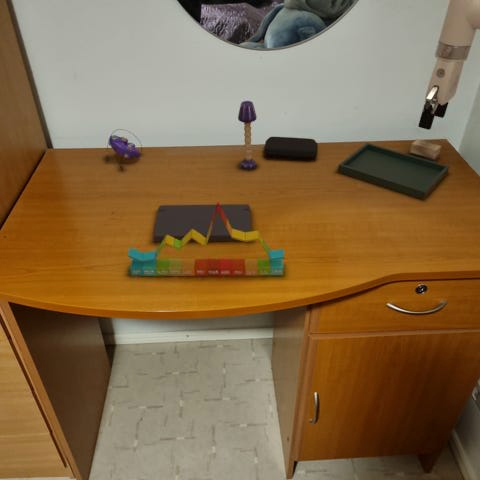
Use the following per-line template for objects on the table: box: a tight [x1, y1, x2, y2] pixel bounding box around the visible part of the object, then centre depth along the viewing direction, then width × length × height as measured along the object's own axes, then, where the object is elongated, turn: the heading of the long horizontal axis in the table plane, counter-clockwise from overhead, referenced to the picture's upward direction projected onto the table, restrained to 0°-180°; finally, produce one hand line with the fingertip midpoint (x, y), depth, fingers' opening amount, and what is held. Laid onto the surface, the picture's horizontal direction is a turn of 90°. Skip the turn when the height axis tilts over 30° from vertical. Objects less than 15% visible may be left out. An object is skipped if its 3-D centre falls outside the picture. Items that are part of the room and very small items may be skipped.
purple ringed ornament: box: [105, 128, 143, 171], centre depth 131 cm, size 10×8×10 cm
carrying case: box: [263, 136, 319, 161], centre depth 135 cm, size 11×3×15 cm
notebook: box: [153, 203, 253, 243], centre depth 109 cm, size 13×2×21 cm
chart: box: [127, 201, 285, 277], centre depth 92 cm, size 30×3×15 cm, turn 90°
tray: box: [337, 142, 450, 201], centre depth 126 cm, size 24×17×2 cm
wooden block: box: [408, 138, 442, 162], centre depth 133 cm, size 7×4×4 cm, turn 53°
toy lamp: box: [237, 100, 258, 171], centre depth 124 cm, size 5×5×17 cm
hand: (431, 122), depth 127 cm, fingers open, 9 cm apart
